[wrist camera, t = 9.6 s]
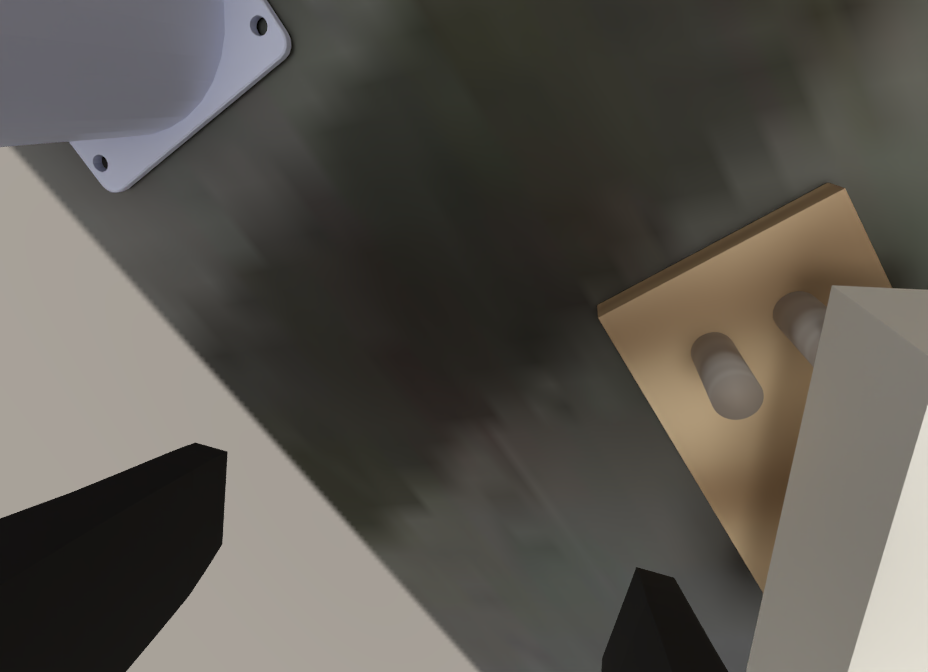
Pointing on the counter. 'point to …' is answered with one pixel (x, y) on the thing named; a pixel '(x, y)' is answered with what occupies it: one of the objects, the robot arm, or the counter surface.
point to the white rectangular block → (856, 499)
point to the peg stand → (743, 352)
